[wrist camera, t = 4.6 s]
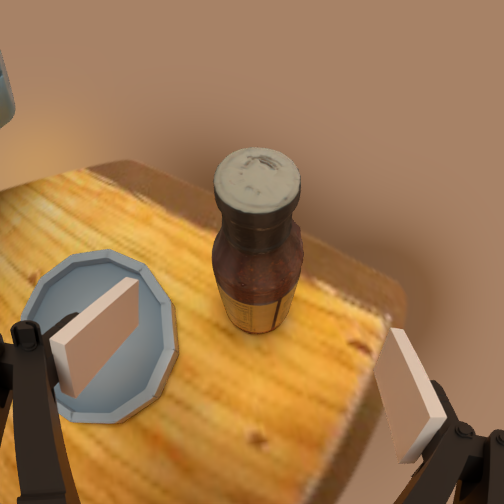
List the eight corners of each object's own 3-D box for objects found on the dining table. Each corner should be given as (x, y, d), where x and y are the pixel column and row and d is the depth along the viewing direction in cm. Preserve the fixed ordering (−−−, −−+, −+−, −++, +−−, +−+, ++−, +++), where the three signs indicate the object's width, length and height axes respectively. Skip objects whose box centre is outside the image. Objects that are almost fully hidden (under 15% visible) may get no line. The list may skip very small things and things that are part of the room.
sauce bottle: (270, 268, 34) (293, 114, 16) (298, 320, 32) (362, 198, 14) (212, 293, 33) (177, 150, 15) (238, 348, 30) (227, 253, 12)
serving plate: (35, 268, 33) (27, 261, 32) (171, 249, 35) (167, 240, 33) (31, 418, 25) (21, 417, 23) (187, 420, 27) (183, 421, 25)
